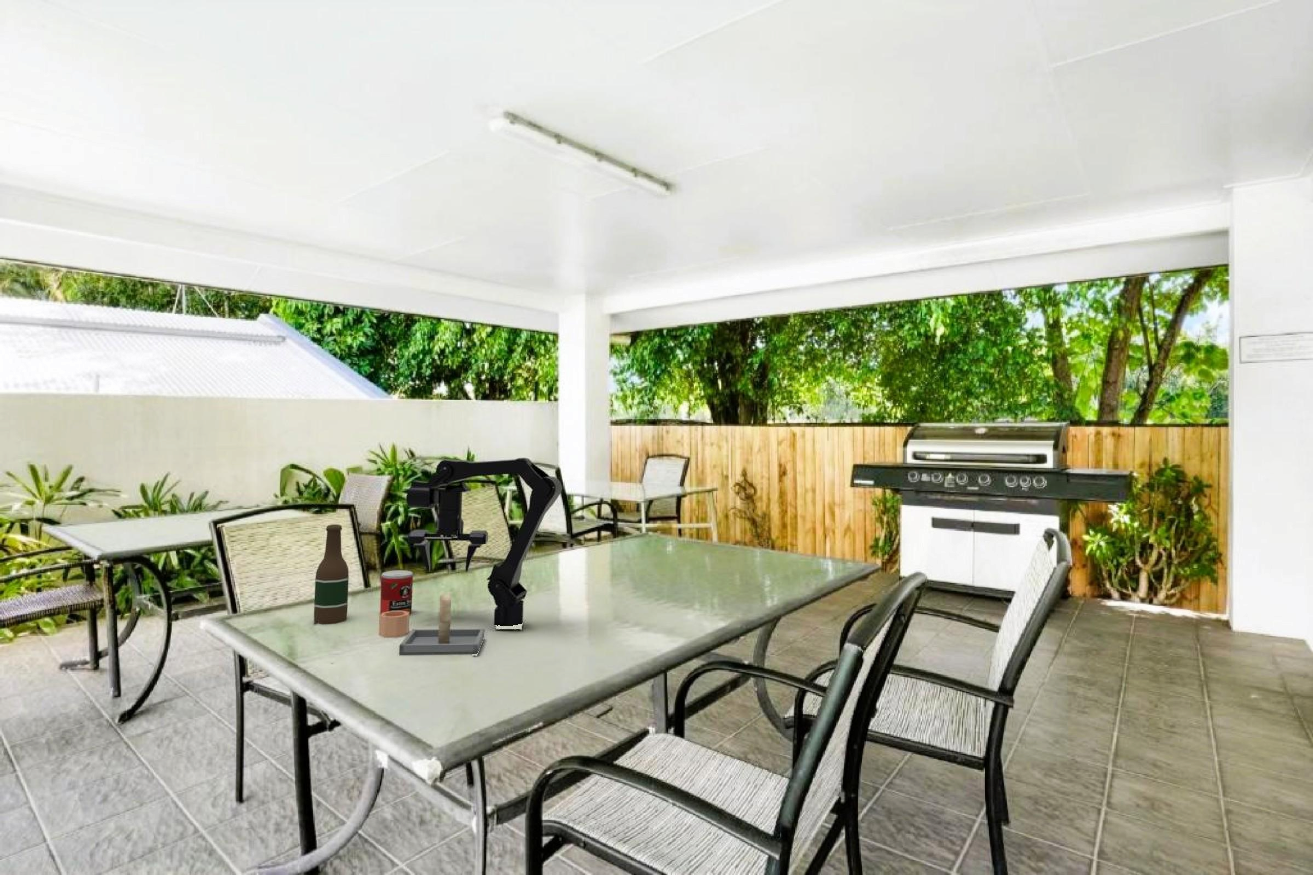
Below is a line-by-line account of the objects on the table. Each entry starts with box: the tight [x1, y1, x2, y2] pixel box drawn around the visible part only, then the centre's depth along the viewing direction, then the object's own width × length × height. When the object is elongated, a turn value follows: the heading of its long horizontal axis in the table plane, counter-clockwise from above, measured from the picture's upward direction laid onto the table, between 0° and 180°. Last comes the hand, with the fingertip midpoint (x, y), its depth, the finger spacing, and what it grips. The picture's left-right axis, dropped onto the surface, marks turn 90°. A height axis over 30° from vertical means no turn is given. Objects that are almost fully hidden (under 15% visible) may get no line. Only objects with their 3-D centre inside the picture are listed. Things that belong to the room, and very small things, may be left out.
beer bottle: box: [313, 524, 350, 626], centre depth 161 cm, size 8×8×24 cm
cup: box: [378, 611, 410, 638], centre depth 152 cm, size 6×6×5 cm
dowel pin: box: [438, 594, 452, 644], centre depth 144 cm, size 2×2×10 cm
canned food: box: [379, 569, 414, 616], centre depth 169 cm, size 8×8×11 cm
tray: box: [398, 628, 485, 656], centre depth 144 cm, size 16×12×2 cm
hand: (447, 571), depth 163 cm, fingers open, 9 cm apart
